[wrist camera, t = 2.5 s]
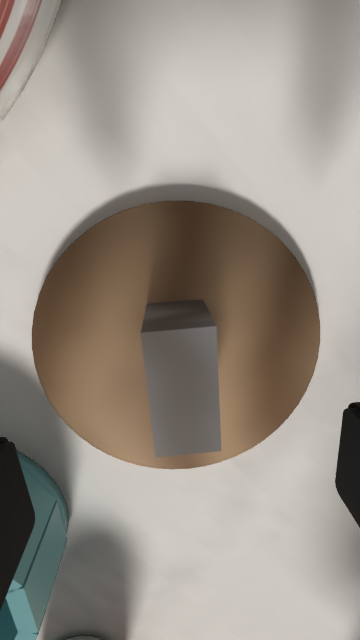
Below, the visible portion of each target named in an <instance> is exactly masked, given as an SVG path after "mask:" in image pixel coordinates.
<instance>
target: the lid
mask: <svg viewBox="0 0 360 640" xmlns="http://www.w3.org/2000/svg"><path fill="white" fill-rule="evenodd" d="M319 344H320V321H319V314H318V307H317V303H316V300H315V296H314V293H313V289H312V287H311V285H310V283H309V280H308V278H307V276H306V274H305V272H304V270H303V269H302V267H301V266H300V264H299V263H298V261H297V260H296V258H295V256H294V255H293V254H292V253H291V252H290V251H289V250H288V248H287V247H286V246H285V245H284V244H283V243H282V242H281V241H280V240H279V239H278V238H277V237H275V236H274V235H273V234H272V233H271V232H270V231H268V230H267V229H266V228H264V227H263V226H261V225H260V224H258V223H256V222H255V221H253V220H252V219H250V218H248V217H246V216H244V215H241V214H239V213H237V212H235V211H232V210H230V209H226V208H223V207H219V206H216V205H212V204H208V203H200V202H193V201H164V202H157V203H150V204H144V205H141V206H137V207H134V208H131V209H127V210H124V211H122V212H120V213H117V214H115V215H113V216H111V217H109V218H106V219H104V220H103V221H101V222H100V223H98V224H97V225H95V226H93V227H92V228H90V229H89V230H87V231H86V232H85V233H84V234H83V235H81V236H80V237H79V238H78V239H77V240H76V241H74V242H73V243H72V244H71V245H70V246H69V247H68V249H67V250H66V251H65V252H64V253H63V254H62V256H61V257H60V258H59V259H58V260H57V262H56V263H55V265H54V267H53V268H52V270H51V271H50V273H49V274H48V276H47V278H46V280H45V283H44V285H43V287H42V289H41V291H40V294H39V297H38V301H37V304H36V308H35V311H34V318H33V326H32V350H33V356H34V362H35V367H36V370H37V374H38V377H39V380H40V383H41V385H42V387H43V389H44V392H45V394H46V396H47V398H48V400H49V401H50V403H51V404H52V406H53V407H54V409H55V410H56V412H57V413H58V414H59V416H60V417H61V418H62V419H63V420H64V422H65V423H66V424H67V425H68V426H69V427H70V428H71V429H72V430H73V431H74V432H75V433H77V434H78V435H79V436H80V437H81V438H83V439H84V440H85V441H87V442H88V443H90V444H91V445H92V446H94V447H96V448H97V449H99V450H101V451H103V452H105V453H106V454H108V455H111V456H113V457H115V458H118V459H120V460H123V461H126V462H129V463H133V464H136V465H140V466H146V467H152V468H161V469H188V468H195V467H202V466H207V465H211V464H214V463H218V462H222V461H224V460H227V459H230V458H232V457H235V456H237V455H239V454H241V453H243V452H245V451H247V450H249V449H251V448H252V447H254V446H255V445H257V444H258V443H260V442H261V441H263V440H264V439H266V438H267V437H268V436H269V435H271V434H272V433H273V432H274V431H275V430H277V429H278V428H279V427H280V425H281V424H282V423H283V422H284V421H285V420H286V419H287V418H288V417H289V416H290V414H291V413H292V412H293V410H294V409H295V408H296V407H297V405H298V404H299V402H300V400H301V399H302V397H303V395H304V393H305V392H306V390H307V388H308V385H309V383H310V381H311V378H312V376H313V373H314V369H315V366H316V362H317V359H318V352H319Z"/></svg>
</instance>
